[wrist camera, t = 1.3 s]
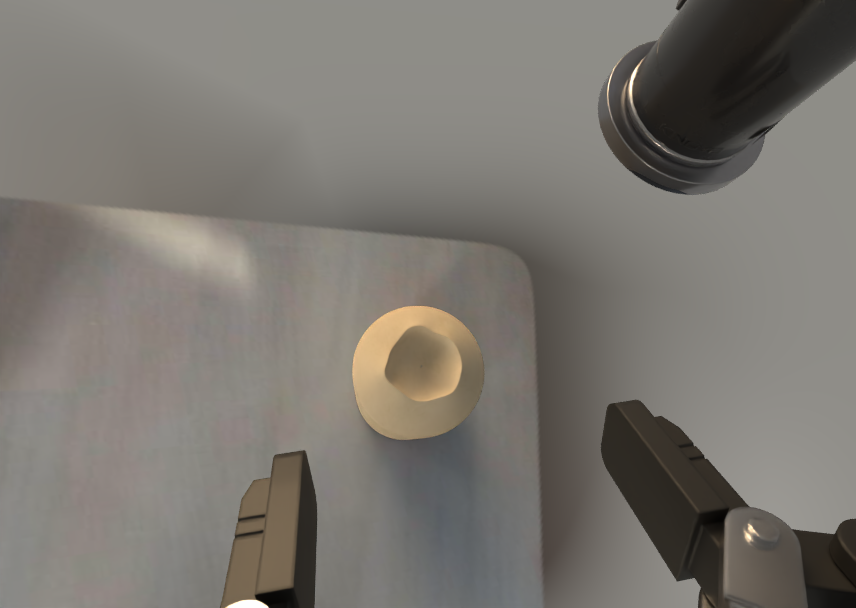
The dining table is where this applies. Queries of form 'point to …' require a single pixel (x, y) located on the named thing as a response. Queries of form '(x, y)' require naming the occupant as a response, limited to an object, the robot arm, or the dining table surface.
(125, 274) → the dining table surface
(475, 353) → the candle
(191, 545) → the dining table surface
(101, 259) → the dining table surface
